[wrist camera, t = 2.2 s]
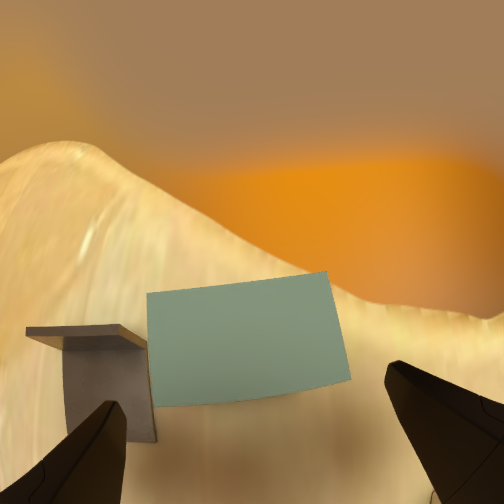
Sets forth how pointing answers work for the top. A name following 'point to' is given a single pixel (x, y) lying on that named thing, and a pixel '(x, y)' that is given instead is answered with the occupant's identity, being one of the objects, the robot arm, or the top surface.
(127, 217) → the top surface
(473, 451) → the robot arm
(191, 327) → the green striped box
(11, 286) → the top surface
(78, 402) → the bookend
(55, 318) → the top surface
